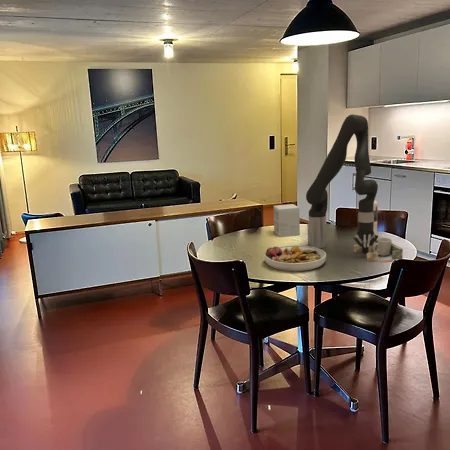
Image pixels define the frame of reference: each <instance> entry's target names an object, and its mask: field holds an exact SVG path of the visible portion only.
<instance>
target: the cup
mask: <svg viewBox="0 0 450 450" xmlns="http://www.w3.org/2000/svg"><path fill="white" fill-rule="evenodd" d="M391 243H393V240H392V239H391V238H390V237H378V238H377V240H376V241H375V242H374V244H373V246H372V249H373V251H372V252H373V253H374V252H377V253H378V256H380V257H386V256H389V255H391V254H390V249H391ZM375 247H376V250H375Z"/></svg>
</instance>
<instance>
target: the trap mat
mask: <svg viewBox="0 0 450 450" xmlns="http://www.w3.org/2000/svg"><path fill="white" fill-rule="evenodd" d="M393 260H394V259H392V258H391V259H381V260H379V262H380V263H382V262H383V263H391V262H392V261H393ZM393 262H394V261H393ZM393 262H392V263H393Z"/></svg>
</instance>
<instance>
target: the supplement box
mask: <svg viewBox="0 0 450 450" xmlns="http://www.w3.org/2000/svg"><path fill="white" fill-rule="evenodd" d="M300 218H301V217H300V207H299V206H297V205H296V204H294V203H291V204H290V203H289V204H279V205H273V231H274V232H273V233H274V234H275V235H276V236H278V238H284V237H295V236H296V237H297V236H300V235H301V231H300V230H301V228H300V227H301V223H300V221H301V220H300Z"/></svg>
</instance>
